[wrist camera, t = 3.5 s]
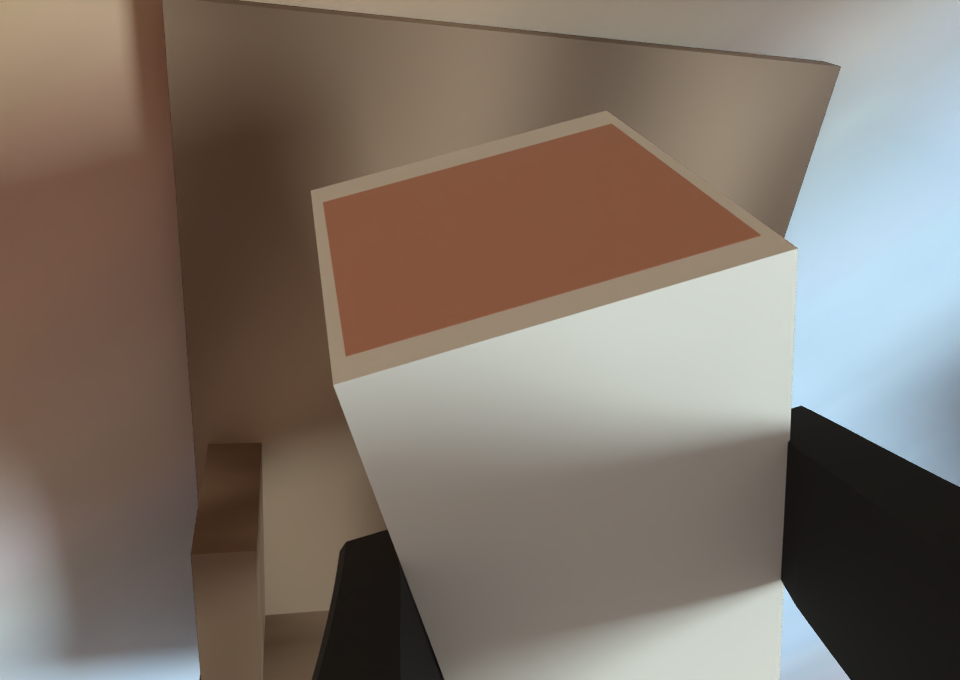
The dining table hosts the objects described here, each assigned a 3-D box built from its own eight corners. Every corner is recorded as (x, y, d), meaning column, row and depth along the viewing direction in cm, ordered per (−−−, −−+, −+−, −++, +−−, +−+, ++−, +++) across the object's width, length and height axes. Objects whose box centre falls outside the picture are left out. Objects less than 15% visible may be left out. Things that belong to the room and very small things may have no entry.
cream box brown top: (606, 109, 11) (798, 247, 7) (644, 490, 16) (777, 712, 12) (310, 189, 11) (333, 383, 7) (434, 557, 15) (495, 812, 11)
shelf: (824, 60, 17) (962, 105, 13) (652, 596, 25) (711, 710, 21) (166, -7, 14) (122, 26, 10) (210, 632, 22) (195, 774, 18)
